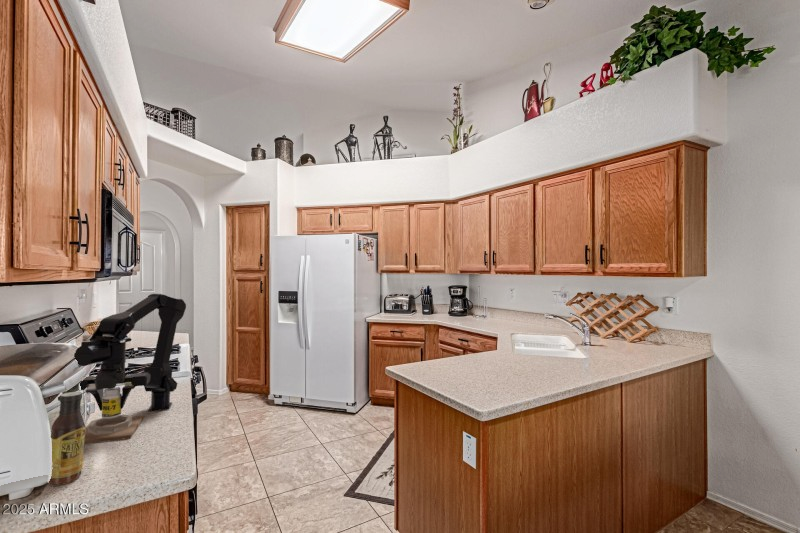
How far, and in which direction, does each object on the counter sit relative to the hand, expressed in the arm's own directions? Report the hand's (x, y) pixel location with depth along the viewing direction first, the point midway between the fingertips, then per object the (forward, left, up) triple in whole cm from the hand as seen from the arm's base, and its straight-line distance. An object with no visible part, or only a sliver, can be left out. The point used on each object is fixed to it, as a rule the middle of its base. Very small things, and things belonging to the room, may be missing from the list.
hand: (111, 409), depth 117 cm
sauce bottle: (+29, -1, -7) cm, 30 cm away
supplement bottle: (0, 0, -2) cm, 2 cm away
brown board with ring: (0, 0, -7) cm, 7 cm away
